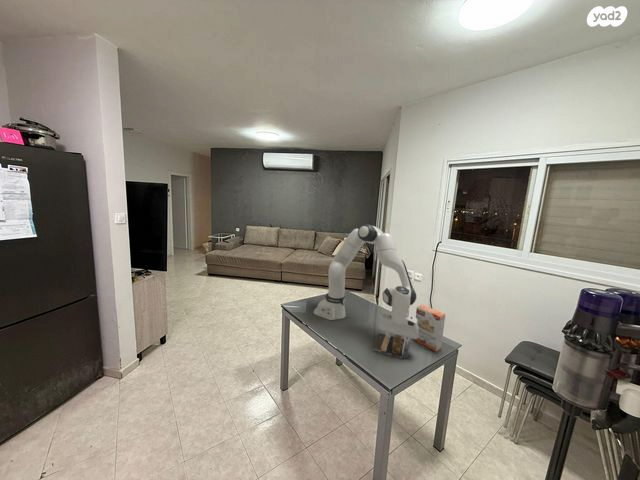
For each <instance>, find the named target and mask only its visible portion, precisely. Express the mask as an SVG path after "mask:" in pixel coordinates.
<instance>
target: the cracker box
mask: <svg viewBox="0 0 640 480" xmlns="http://www.w3.org/2000/svg"><path fill="white" fill-rule="evenodd" d="M415 317H416V318H417V324H418V328H419V335H418V338H417V339H413V338H412V339H413V341H415V342H417V343H419V344H420V345H422V346H425V347H426V348H427V349H430V350H431V351H433V352H438V351H439V350H441V349H442V344H443V336H444V328H445V323H446V321H445V320H446V313H443V312H441V311H438V310H436V309H433V308H431V307H430V306H428V305H424V304H421V305H418V306H416V311H415Z"/></svg>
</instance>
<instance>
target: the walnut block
mask: <svg viewBox="0 0 640 480" xmlns="http://www.w3.org/2000/svg"><path fill="white" fill-rule="evenodd" d="M394 336H395V337H394V338H393V341H392V350H391V354H395V355H398V356H401V353H402V349H403V341H402V339H403V337H404V336H402V335H398V334H394Z"/></svg>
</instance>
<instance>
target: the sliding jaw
mask: <svg viewBox="0 0 640 480" xmlns="http://www.w3.org/2000/svg"><path fill="white" fill-rule="evenodd" d="M388 334H389V335H390V339H387V335H385V336H384V338H383V341H382V344H381V347H380V348H381V351H384V352H387V350H388V347H389V343H390V341H391V339H392V338H391V335H392V333H390V332H388Z"/></svg>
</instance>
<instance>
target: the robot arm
mask: <svg viewBox="0 0 640 480" xmlns="http://www.w3.org/2000/svg"><path fill="white" fill-rule="evenodd" d="M365 243H368V244H371V245H374V246H376V250H377V251H376V253H377V254H376V255H377V259H378V261H379V263H380V264H381V265H382V266H384V267H386V268H388V269H391V270H394V271H395V272H396V273H397V274H398V276H399V280H400V283H401V285H398V286H396V287H387V288H385V289H384V290H383V292H382V301H383V302H384V303H385V304H386V305H387V306H389V307H391V314H386V313H381V314H379V325H378V327H379V328H378V329H379V330H380V331H383V332H385V333H384V334H386V335H387V339H390V340H391V338H390V335H389V334H388V332H389V333H391V334H394V335H395V334H396V335H401V336H403V337H408V339H406V340H405V344H408V342H409V341H411V339H417V338H418V335H419V328H418V324H417V318H416V316H413V315H411V314H410V310H409V309H410V307H411V306H412V305H413V304H414V303H416V301H417V293H416V290H415V288H414V286H413V284H412V280H411V278H410V275H409V271H408V269H407V266H406V264H405V261H404V260H403V259H401V258H400V256H399V254H398V252H397V247H396V242H395V239H394V237H393V235H392V234H391V233H389V232H384V230H382V229H381V228H379V227H377V226H374V225H372V224H370V223H364V224H362V225H360V226H359V227H358V228H354V229H353V230H352V231H351V232H350V233H349V235H348V236H347V237H346V239H345V240H344V242H343V243H342V245H341V247H340V248H339V250H338V251H337V253H336V254H335V255H334V257H333V259H332V261H330V264H329V267H328V292H327V293H326V295H325V296H324V299H323V300H320V302H318V304H317V307H315V308H314V309H313V314H314V315H315V316H318V317H320V318H323V319H327V320H329V321H334V320H342V319H344V318H346V309H345V302H346V296H345V293H346V292H345V291H346V290H345V287H346V270H347V268H348V266H349V265H350V264H351V262H352V261H353V260H354V259H355V257H356V256H357V254H358V252H359V251H360V249H361V247H362V246H363V245H364V244H365Z"/></svg>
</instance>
